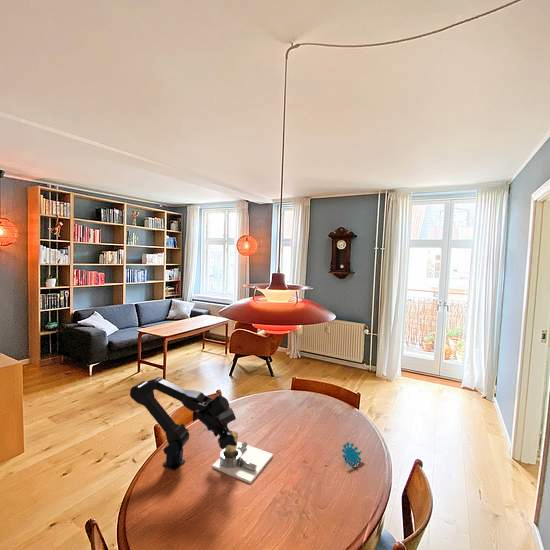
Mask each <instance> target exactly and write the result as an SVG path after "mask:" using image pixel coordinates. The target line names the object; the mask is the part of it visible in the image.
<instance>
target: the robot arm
mask: <svg viewBox="0 0 550 550" xmlns="http://www.w3.org/2000/svg"><path fill="white" fill-rule="evenodd" d="M155 390H156V391H158V392H160V393H162V394H164V395H167V396H169V397H170V398H173V399H175V400H176V401H179V402H181V404H182V406H184V408H186V409H187V410H189V411H191V412H192V419H191V420H192V422H195V421H196V420H199V422H201V424H203V425H204V426H205V427H206V429H207V431H211V432H212V433H213V435H214V437H218V438H217V443H218V447H219V448H220V449H222V450H223V449H225V448H226V447H227V445H231V446H236V445H237V443H236V442H235V440H234V436H233V433H232V431H233V430H230V429H229V428H228V424H229V423H231V422H233V421H236V419H237V417H236V414H235V411H233V408H231V407H230V403H229V400H228V399H227V398H226V397H225V396H222V395H221V394H220V393H219V394H217V395H216V396H215V397H211V396H208V395H205V394H204V393H203V392H202V391H197V390H194V389H193V390H192V389H185V388H183V387H182V386H179V385H177V384H175V383H172V382H170V381H168V380H166V379H165V378H163V377H161V376H157V377H155V378H152V379H150V380H148V381H145V380H142V381H140V382H139V383H138V384H136V385H134V386H133V387H131V388H130V390H129V396H130V398H131V399H132V400H133V401H134V402H135V403H136V404H139V405H142V406H143V407H145V409H146V410H147V412H149V413H150V415H151V416H152V418H153V419H154V420H155V421H156V423H157V424H158V426H160V428H161V429H162V430H163V432H164V433H165V437H166V442H167V443H168V444H167V445H165V447H164V448H163V453H164V455H165V456H166V457H165V461H164V462H163V463H162V465H163V466H164V467H165V468H166V467H167V468H169V469H171V470H173V471H174V470H176V469H178V468H179V467H181V466H182V465H183V464H184V463H185V462H186V460H185V459H183V457H184V446H185V445H186V443H187V442H188V441H189V439H190V433H189V429H188V428H186V426H185V424H184V423H181V424H180V425H179V424H177V423H176V422H175V421H174V419H173V418H172V417H171V416H170V415H169V413H168V412H167V411H166V410H165V409H164V407H163V406H162V404H161V403H160V402H159V401H158V399H156V397H155V392H154V391H155Z"/></svg>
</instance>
